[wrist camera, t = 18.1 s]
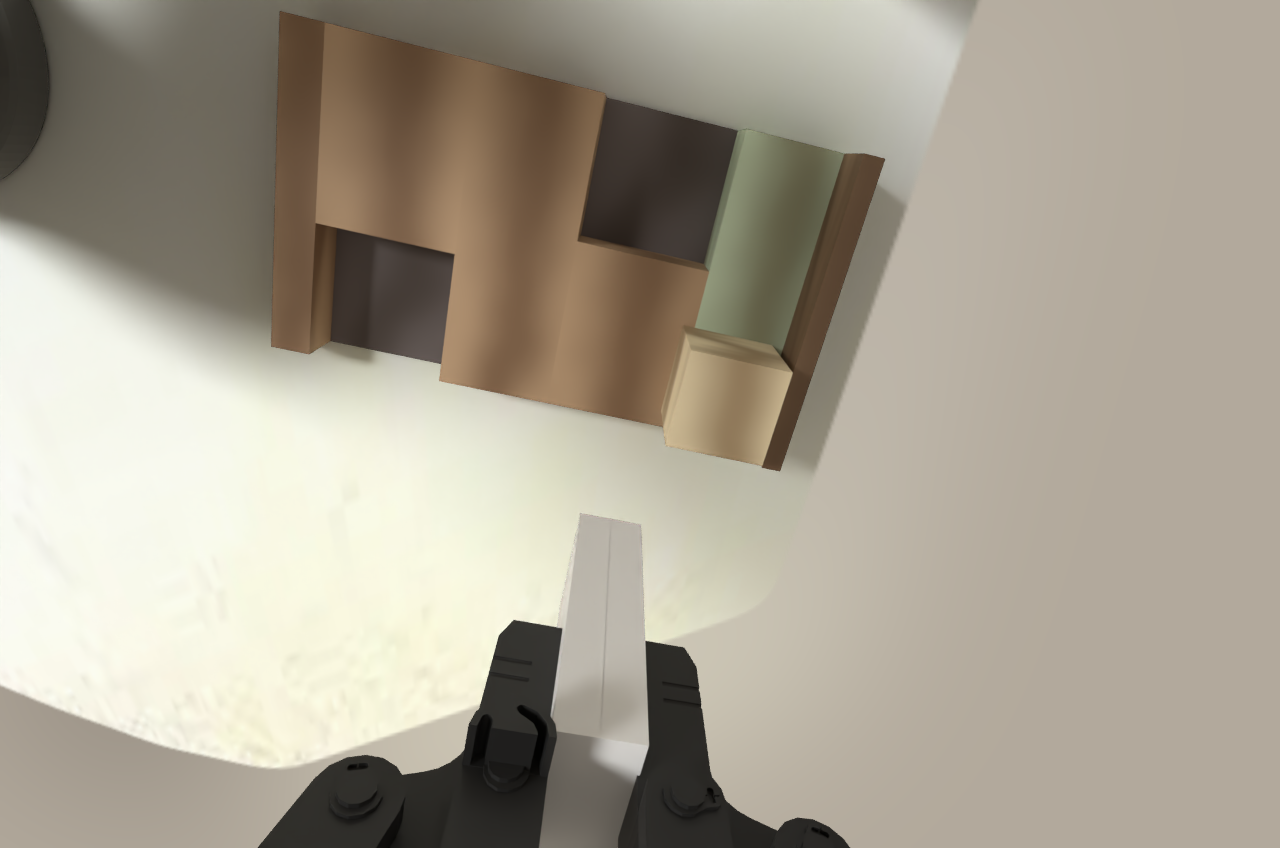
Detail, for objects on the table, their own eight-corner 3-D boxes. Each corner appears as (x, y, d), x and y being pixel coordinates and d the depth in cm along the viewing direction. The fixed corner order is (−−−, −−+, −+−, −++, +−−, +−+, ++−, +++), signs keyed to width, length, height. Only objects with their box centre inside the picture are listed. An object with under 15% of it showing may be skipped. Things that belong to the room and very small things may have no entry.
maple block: (660, 410, 38) (665, 445, 33) (683, 325, 36) (691, 350, 31) (746, 428, 38) (762, 465, 34) (771, 345, 37) (793, 373, 32)
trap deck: (296, 332, 39) (241, 362, 33) (308, 23, 33) (244, -4, 28) (759, 428, 42) (780, 471, 36) (845, 158, 36) (885, 158, 30)
